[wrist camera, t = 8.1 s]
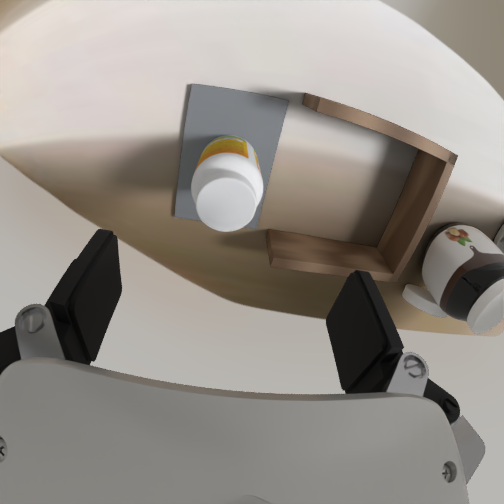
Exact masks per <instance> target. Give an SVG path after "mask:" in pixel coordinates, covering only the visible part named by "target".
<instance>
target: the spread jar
mask: <svg viewBox="0 0 504 504" xmlns="http://www.w3.org/2000/svg"><path fill="white" fill-rule="evenodd" d="M422 277H423V280H424V283H425V285H426V287H427V288H428V290H427V289H424V288H422V287H419V286H416V285H412V284H407V285H406V286H405V289H404V291H403V293H402V297H403V298H404V299H405V300H406V301H407V302H409V303H410V304H411V305H413V306H415V307H416V308H418V309H420V310H422V311H424V312H426V313H428V314H431V315H433V316H437V317H441V318H445V317H446V316H447V315H449V316H451V317H452V318H455V319H458V320H461V321H467V323H468V325H469V327H470V328H471V330H472V332H473V333H474V334H477V335H478V334H482V333H485V332H487V331H488V330H490V329H492V328H493V327H494V326H496V325H497V324H498V323H499V322H500V321H501V320H502V319H503V318H504V254H503V252H502V251H501V250H500V249H499V248H498V247H497V246H496V245H495V244H494V243H493V242H492V241H491V240H490V239H489V238H488V237H487V236H486V235H485V234H484V233H482V232H481V231H480V230H478V229H476V228H474V227H472V226H469V225H466V224H462V223H451V224H448V225H446V226H444V227H442V228H441V229H439V230H438V231H437V232H436V233H435V234H434V236H433V237H432V238H431V240H430V241H429V243H428V245H427V248H426V250H425V253H424V257H423V262H422Z"/></svg>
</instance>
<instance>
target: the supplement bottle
mask: <svg viewBox="0 0 504 504" xmlns="http://www.w3.org/2000/svg"><path fill="white" fill-rule="evenodd" d="M191 193H192V197H193V200H194V202H195V204H196V210H197V213H198V216H199V217H200V219H201V220H202V221H203V222H204V224H206V225H207V226H208V227H210V228H212V229H214V230H217V231H223V232H229V231H235V230H238V229H240V228H242V227H244V226H245V225H247V224H248V223H249V222H250V221H251V219H252V218H253V216H254V214H255V211H256V207H257V206H258V204H259V202H260V200H261V198H262V194H263V179H262V175H261V171H260V167H259V162H258V158H257V155H256V152H255V150H254V148H253V147H252V146H251V145H250V144H249V143H248V142H247V141H246V140H244V139H242V138H240V137H237V136H231V135H227V136H221V137H218V138H216V139H214V140H212V141H211V142H210V143H209V144H208V145H207V146H206V147H205V148H204V150H203V152H202V154H201V157H200V159H199V162H198V165H197V167H196V170H195V172H194V175H193V178H192V183H191Z"/></svg>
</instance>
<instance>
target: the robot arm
mask: <svg viewBox="0 0 504 504" xmlns="http://www.w3.org/2000/svg"><path fill="white" fill-rule="evenodd" d="M493 243H494V244H495V245H496V246H497V247H498V248H499V249H500V250H501V251H502V252H503V254H504V224H503V225H502V227H501V228H500V230H499V232H498V233H497V235H496V237H495V239H494V241H493ZM121 292H122V285H121V275H120V265H119V254H118V240H117V236H116V235H114V234H113V231H110V230H103V229H98V230H97V231H96V233H95V234H94V235H93V237H92V238H91V239H90V241H89V242H88V244H87V245H86V246H85V248H84V249H83V251H82V252H81V253H80V255H79V256H78V258H77V259H74V261H73V262H72V263H71V264H70V266H69V268H68V269H67V271H66V272H65V274H64V275H63V277H62V278H61V280H60V281H59V283H58V285H57V286H56V288H55V289H54V291H53V292H52V294H51V296H50V297H49V299H48V301H47V302H46V304H45V306H43V305H41V304H31V305H28V306H26V307H24V308H23V309H22V310H21V311H20V312H19V313H18V315H17V316H16V319H15V326H14V327H12V328H10V329H7V330H5V331H3V332H0V504H469V499H468V492H467V486H466V485H467V483H468V481H469V480H470V479H471V477H472V475H473V474H474V472H475V470H476V469H477V467H478V465H479V464H480V462H481V460H482V458H483V456H484V454H485V445H484V442H483V440H482V439H481V438H480V436H479V435H478V434H477V433H476V431H475V430H474V429H473V428H472V426H471V425H470V424H469V423H468V421H467V420H466V419H465V418H464V416H461V417H459V415H460V408H459V405H458V402H457V401H456V399H455V398H454V397H453V396H452V395H450V394H449V393H448V392H446V391H445V390H443V389H442V388H441V387H439V386H438V385H437V384H435V383H434V382H433V381H431V380H430V379H429V378H428V375H429V369H428V366H427V364H426V362H425V361H424V359H423V358H422V357H420V356H419V355H418V354H416V353H412V352H406V353H404V354H403V352H402V349H403V348H404V346H403V344H402V341H401V339H400V337H399V334H398V332H397V330H396V327H395V325H394V323H393V320H392V318H391V316H390V314H389V312H388V309H387V307H386V305H385V303H384V301H383V299H382V297H381V295H380V292H379V290H378V288H377V286H376V284H375V282H374V280H373V278H372V276H371V274H370V273H369V272H368V271H361V270H355V271H354V272H353V273H350V275H349V276H348V278H347V280H346V282H345V284H344V286H343V288H342V290H341V292H340V294H339V296H338V298H337V299H336V301H335V303H334V305H333V307H332V309H331V310H330V312H329V314H328V316H327V319H326V326H327V329H328V333H329V337H330V341H331V345H332V349H333V353H334V358H335V362H336V366H337V370H338V374H339V379H340V383H341V387H342V389H343V390H345V393H346V394H320V395H319V394H316V395H315V394H313V395H309V394H273V393H254V392H242V391H231V390H221V389H212V388H204V387H196V386H189V385H183V384H176V383H170V382H164V381H159V380H153V379H148V378H143V377H138V376H133V375H129V374H124V373H120V372H115V371H111V370H106V369H102V368H98V367H94V366H90V363H91V361H95V360H96V357H97V354H98V352H99V349H100V346H101V343H102V341H103V338H104V335H105V333H106V330H107V328H108V325H109V322H110V320H111V318H112V315H113V312H114V310H115V308H116V305H117V303H118V301H119V298H120V296H121Z"/></svg>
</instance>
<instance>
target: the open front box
mask: <svg viewBox="0 0 504 504" xmlns="http://www.w3.org/2000/svg"><path fill="white" fill-rule="evenodd" d="M302 104H303V105H305V106H307V107H309V108H311V109H313V110H315V111H317V112H320V113H324V114H327V115H330V116H334V117H337V118H340V119H343V120H346V121H349V122H352V123H355V124H358V125H361V126H364V127H367V128H369V129H372V130H375V131H377V132H380V133H383V134H385V135H388V136H390V137H393V138H395V139H398V140H400V141H403V142H405V143H407V144H410V145H412V146H414V147H416V148H419V150H418V153H417V156H416V158H415V161H414V163H413V166H412V169H411V171H410V174H409V176H408V179H407V181H406V184H405V186H404V189H403V191H402V193H401V196H400V198H399V200H398V203H397V205H396V207H395V210H394V212H393V214H392V216H391V218H390V221H389V223H388V225H387V227H386V229H385V231H384V234H383V236H382V238H381V240H380V242H379V244H378V246H377V248H375V247H370V246H365V245H359V244H354V243H348V242H342V241H337V240H331V239H325V238H320V237H314V236H308V235H302V234H296V233H290V232H284V231H278V230H271V229H268V232H267V236H266V242H267V248H268V254H269V260H270V266H271V267H275V268H282V269H290V270H298V271H305V272H313V273H321V274H329V275H337V276H345V277H348V276H349V275H350V273H353V272H354V271H355V270H361V271H368V272H369V273H370V274H371V276H372V278H373V280H377V281H386V282H394V283H396V282H397V280H398V279H399V277H400V275H401V274H402V272H403V270H404V269H405V267H406V265H407V263H408V262H409V260H410V258H411V256H412V254H413V253H414V251H415V249H416V247H417V245H418V243H419V241H420V239H421V238H422V236H423V234H424V232H425V230H426V228H427V226H428V224H429V222H430V220H431V218H432V216H433V213H434V211H435V209H436V207H437V205H438V203H439V201H440V198H441V196H442V194H443V192H444V189H445V187H446V185H447V182H448V180H449V177H450V175H451V173H452V170H453V167H454V165H455V162H456V160H457V157H458V155H456V154H454V153H453V152H451V151H449V150H447V149H445V148H444V147H442V146H440V145H438V144H436V143H434V142H432V141H430V140H428V139H426V138H424V137H422V136H420V135H418V134H416V133H414V132H412V131H410V130H407V129H405V128H403V127H401V126H398V125H396V124H394V123H391V122H389V121H387V120H384V119H382V118H379V117H377V116H374V115H371V114H369V113H366V112H363V111H361V110H358V109H355V108H352V107H349V106H347V105H344V104H341V103H338V102H334V101H331V100H328V99H325V98H322V97H318V96H315V95H311V94H308V93H305V96H304V100H303V103H302Z"/></svg>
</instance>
